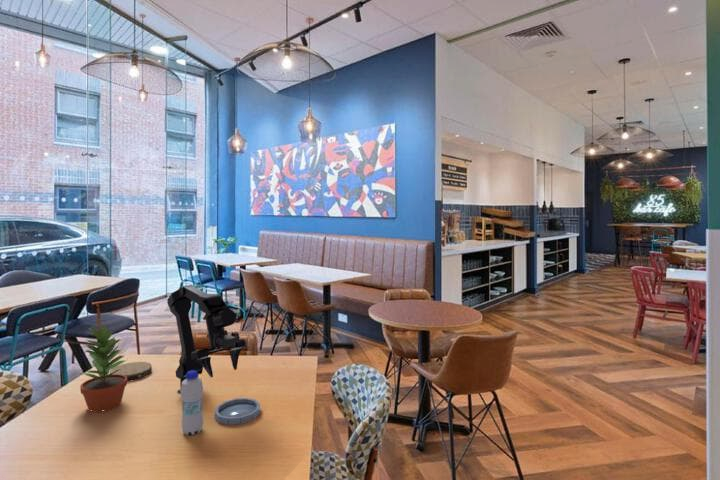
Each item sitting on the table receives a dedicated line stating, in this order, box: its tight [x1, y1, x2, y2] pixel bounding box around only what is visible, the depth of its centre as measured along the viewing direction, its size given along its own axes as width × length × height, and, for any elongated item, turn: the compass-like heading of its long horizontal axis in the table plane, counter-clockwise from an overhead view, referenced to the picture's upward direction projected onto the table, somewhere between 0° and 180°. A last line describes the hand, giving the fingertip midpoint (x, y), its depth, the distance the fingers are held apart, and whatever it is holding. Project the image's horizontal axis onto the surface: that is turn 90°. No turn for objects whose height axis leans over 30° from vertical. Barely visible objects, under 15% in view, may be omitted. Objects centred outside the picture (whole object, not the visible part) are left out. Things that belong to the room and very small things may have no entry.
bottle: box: [180, 370, 204, 436], centre depth 128 cm, size 7×7×20 cm
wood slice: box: [109, 361, 153, 382], centre depth 175 cm, size 16×16×3 cm
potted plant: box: [79, 325, 128, 411], centre depth 145 cm, size 15×15×30 cm
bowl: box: [214, 397, 261, 426], centre depth 140 cm, size 15×15×2 cm
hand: (223, 373), depth 141 cm, fingers open, 9 cm apart
